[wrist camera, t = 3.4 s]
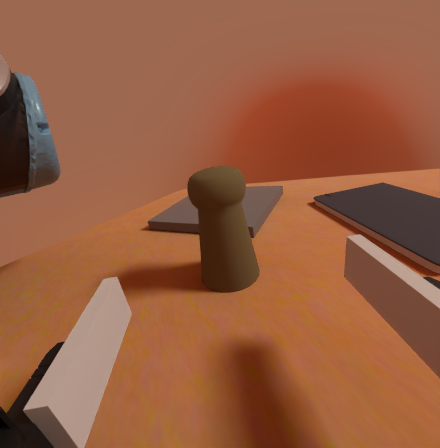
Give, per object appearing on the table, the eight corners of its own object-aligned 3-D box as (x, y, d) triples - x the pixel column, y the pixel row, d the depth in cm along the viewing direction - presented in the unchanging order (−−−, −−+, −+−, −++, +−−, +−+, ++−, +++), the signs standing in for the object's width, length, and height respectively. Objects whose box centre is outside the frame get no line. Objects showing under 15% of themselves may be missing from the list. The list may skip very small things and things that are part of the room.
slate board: (150, 229, 40) (147, 221, 39) (202, 194, 54) (201, 187, 53) (254, 237, 31) (252, 227, 31) (283, 193, 46) (282, 185, 45)
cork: (191, 274, 26) (167, 174, 22) (234, 251, 29) (221, 159, 24) (224, 302, 21) (201, 181, 17) (272, 271, 24) (263, 162, 20)
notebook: (567, 251, 21) (381, 191, 41) (575, 235, 21) (382, 182, 40) (440, 283, 20) (311, 205, 40) (444, 267, 20) (311, 196, 39)
